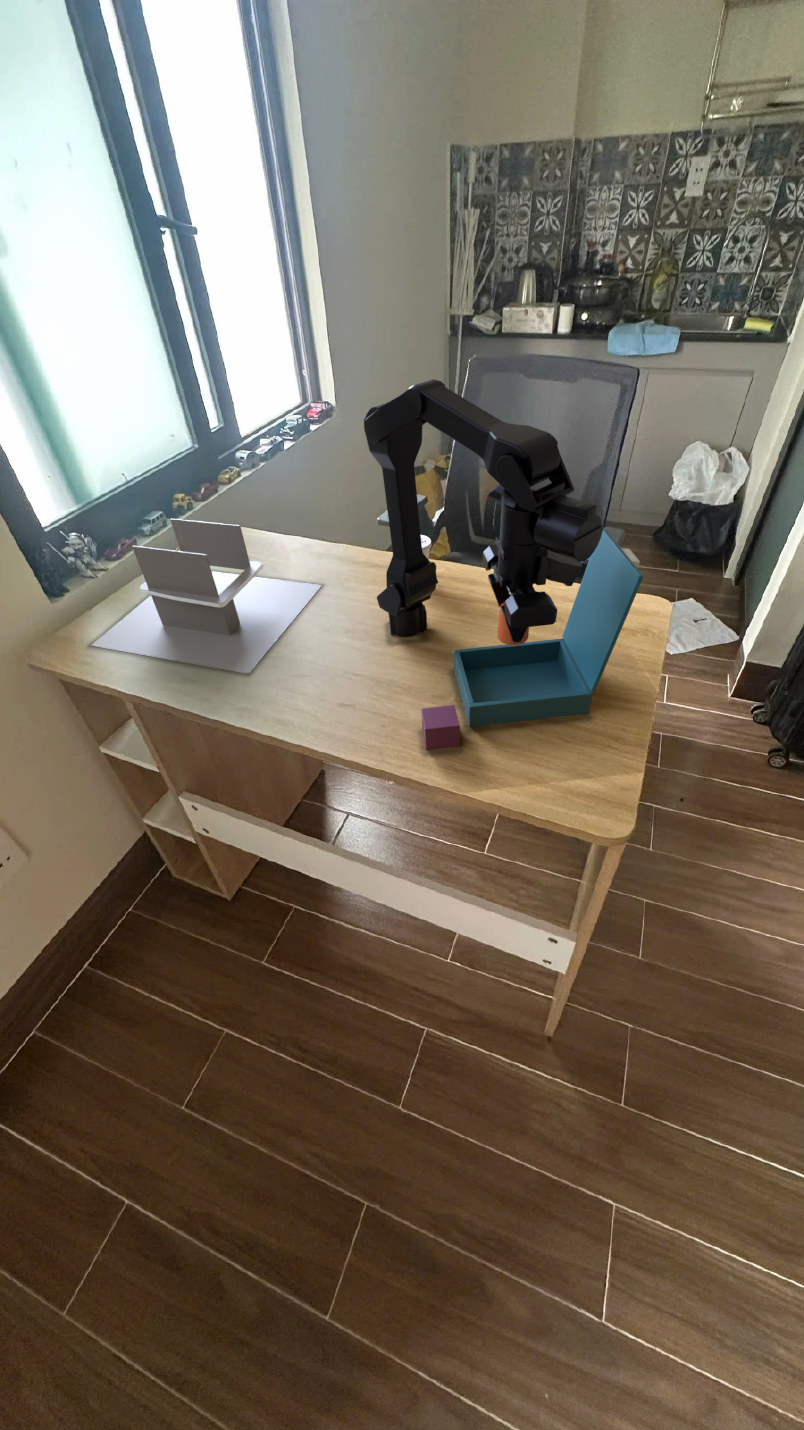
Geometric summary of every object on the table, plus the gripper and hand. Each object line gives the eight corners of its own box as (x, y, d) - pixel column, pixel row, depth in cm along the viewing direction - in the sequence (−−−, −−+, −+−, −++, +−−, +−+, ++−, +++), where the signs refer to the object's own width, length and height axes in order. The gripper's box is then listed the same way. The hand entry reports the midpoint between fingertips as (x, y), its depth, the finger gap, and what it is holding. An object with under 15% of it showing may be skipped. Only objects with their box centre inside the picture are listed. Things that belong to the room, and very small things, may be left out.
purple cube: (426, 753, 88) (425, 729, 85) (422, 732, 92) (421, 708, 88) (459, 750, 89) (459, 725, 85) (454, 728, 92) (454, 704, 89)
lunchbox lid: (639, 575, 76) (658, 577, 76) (600, 526, 87) (617, 528, 87) (591, 691, 89) (607, 692, 89) (562, 636, 99) (576, 637, 100)
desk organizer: (248, 673, 105) (224, 589, 94) (90, 645, 115) (50, 566, 104) (322, 585, 127) (309, 508, 116) (183, 567, 137) (159, 494, 125)
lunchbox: (469, 730, 92) (469, 707, 88) (453, 672, 102) (453, 649, 99) (587, 717, 92) (592, 693, 89) (560, 661, 103) (563, 638, 100)
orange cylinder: (501, 646, 89) (503, 618, 85) (494, 629, 92) (496, 601, 89) (531, 643, 89) (534, 615, 86) (523, 626, 92) (526, 598, 89)
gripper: (605, 563, 73) (585, 664, 84) (559, 501, 87) (547, 595, 97) (515, 572, 73) (507, 672, 83) (484, 509, 86) (480, 602, 97)
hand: (512, 632), depth 90 cm, fingers closed on orange cylinder, 4 cm apart
